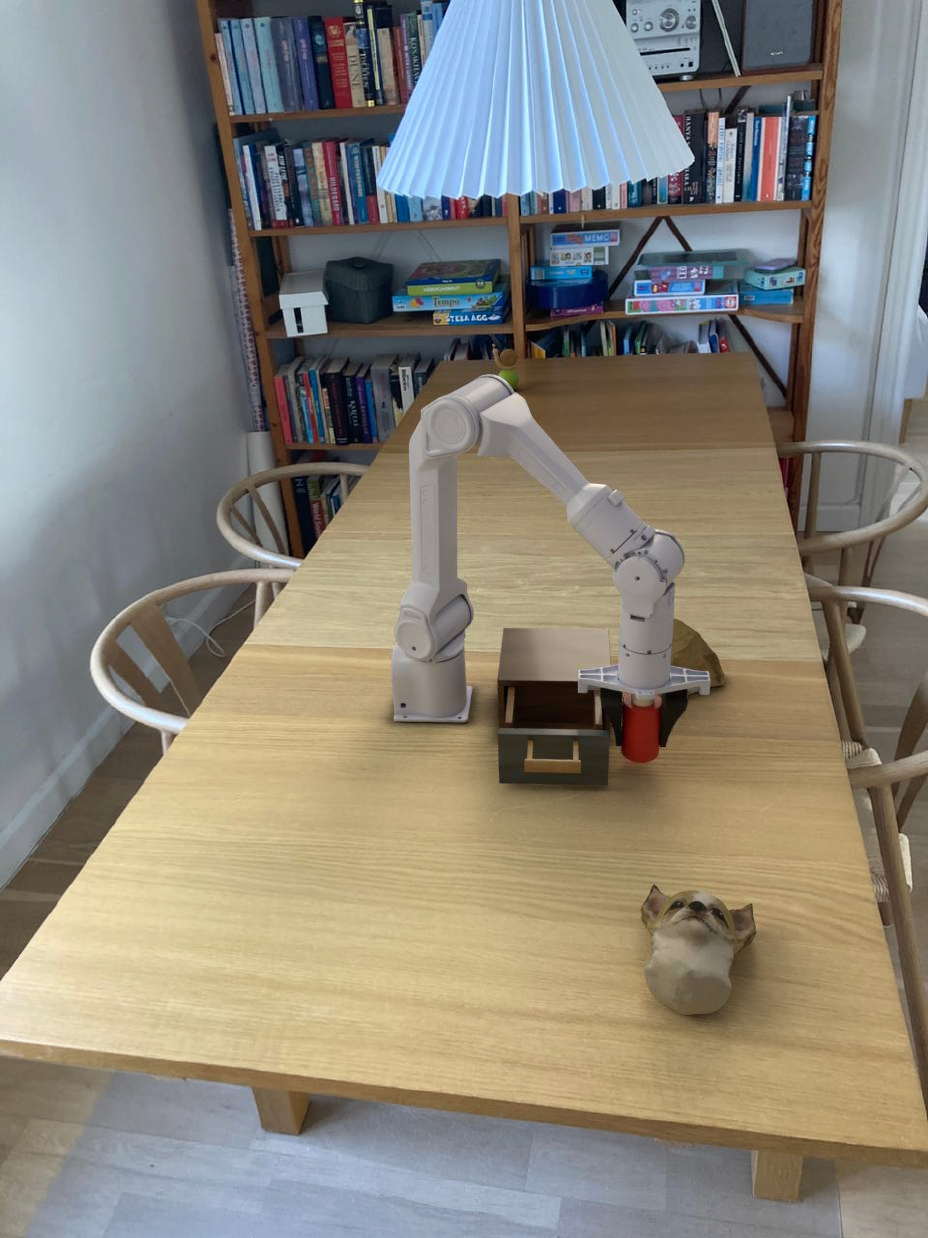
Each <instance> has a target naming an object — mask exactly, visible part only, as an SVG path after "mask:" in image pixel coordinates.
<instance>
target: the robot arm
mask: <svg viewBox="0 0 928 1238" xmlns="http://www.w3.org/2000/svg"><path fill="white" fill-rule="evenodd" d="M532 415H533V414H532V413H531V411H530V408H529V405H528V403H527V401H526V399H525V398H524V397H523V396H521V394H519V393H518V392H515V391H514V389H512V387H511V386H510V385H509V384H508V383H507V382H506V381H505V380H504V379H502V378H501V377H499V376H498V375H495V374H490V373H489V374H488V373H487V374H483V375H480V376H478V377H476V378H475V379H473V380H472V381H470V382H469V383H467V384H465V385H463V386H462V387H459V388H458V389H456V390H454V391H452V392H450V393H448V394H444V395H442V396H440V397H438V398H436V399H435V400H433V401H432V402H429V403H428V404H427V405H425V406H424V407H423V408H421V409H420V420H419V422H418V424H416V425H417V426H416V428H415V429H414V431H413V433H412V434H411V436H410V438H409V443H408V461H409V463H408V464H409V468H408V469H409V493H410V494H409V497H410V499H409V500H410V501H409V502H410V504H409V505H410V535H411V536H410V537H411V539H410V540H411V572H412V573H411V574H412V580H411V582H410V584H409V585H408V587H407V590H406V591H405V593H404V595H403V596H402V598H401V601H400V603H399V615H398V618H397V620H396V622H395V624H394V627H393V628H394V629H393V634H394V639H395V641H396V643H397V644H394V646H393V648H392V652H391V660H390V678H391V690H392V701H393V711H394V715H393V720H394V722H407V723H409V722H410V723H411V722H415V723H416V722H417V723H467V722H468V721H469V716H470V709H471V703H472V696H473V686H472V685H467V672H466V669H467V668H466V651H465V649H466V648H465V639H466V629H468V627H470V626H471V624H472V623H473V620H474V616H475V615H474V614H475V612H474V607H473V604H472V602H471V599H470V597H469V592H468V582H467V581H466V580H464V579H463V578H461V577H459V576H458V458H459V456H460V455H462V454H466V453H467V452H469V451H470V450H472V449H473V448H474V447H475V446H476V445H477V446H479V447H478V450H477V453H476V456H477V457H480V458H510V459H512V460H513V461H515V462H516V463H517V464H518V465H519V466H520V467H522V468H523V469H524V470H525V471H526V472H527V473H528V474H529V475H530V476H532V477H533V478H534V479H535V480H536V481H538V482H539V484H541V485H542V486H543V487H544V488H545V489H546V490H548V491H549V492H550V493H551V494H552V495H553V496H554V497H555V498H556V499H557V500H558V501H560V502H561V503H562V504H563V505H564V506H565V507H566V517H567V524H568V525H569V526H570V527H571V528H572V529H573V530H574V531H575V532H576V533H577V534H578V536H580V537H581V538H582V539H583V540H584V541H585V542H586V543H587V544H588V545H589V546H590V547H591V548H592V549H593V550H594V551H595V552H596V553H597V555H599V556H600V557H601V558H602V560H604V561H605V562H606V563H607V564H608V566H609V567H611V568H612V569H613V570H614V571H612V572H611V577H612V581H613V584H614V587H615V588H616V590H617V591H618V592H619V594H620V598H621V599H620V611H619V634H618V635H619V636H618V659H617V660H618V661H617V662H618V663H617V664H611V666H606V667H601V668H595V669H586V670H578V693H587V692H588V690H600V700H601V705H602V708H603V710H604V711H605V713H606V715H607V716H608V718H609V720H610V723H611V728H612V731H613V734H614V739H615V746H616V747H620V748H621V747H622V713H623V693H625V694H627V693H630V694H635V695H636V698H637V699H640V700H652V699H654V698H655V695H656V694H662V716H661V731H660V746H659V748H667V743H668V740H669V738H670V735H671V732H672V731H673V728H674V726H675V725H676V723H677V722H678V720H679V719H680V717H681V716H682V715H683V714H684V713H686V710H687V708H688V705H689V698H688V695H687V692H688V691H692V692H694V693H697V692H698V694H699V695H700V696H709V695H710V693H711V687H710V683H711V680H710V675H709V672H708V671H696V670H690V669H685V668H680V667H675V666H670V664H671V649H672V636H673V621H674V619H675V596H676V583H675V582H674V581H675V580H676V579H677V577H678V576H680V574H681V572H682V570H683V568H684V566H685V561H686V556H685V551H684V548H683V546H682V545H681V543H680V542H679V541H678V540H677V538H676V536H675V535H674V534H673V533H671V532H669V531H667V530H662V529H658V528H655V527H653V526H651V525H650V524H647V523H645V521H644V520H642V518H641V517H640V516H639V515H638V514H637V513H636V512H634V510H632V508H630V506H629V505H628V504H627V503H626V502H625V501H624V500H625V498H626V497H625V496H624V495H623V494H622V493H621V491H619V489H615V490H614V491H613V490H612V488H610V486H609V485H608V484H603V483H591V482H589V481H588V480H587V478H586V477H585V476H584V475H583V474H582V473H581V472H580V471H579V469H578V468H577V467H576V465H574V464H573V463H572V461H571V460H570V459H569V458H568V457H567V455H565V453H564V452H563V451H562V450H561V448H559V446H558V445H557V444H556V443H555V442H554V440H553V439H552V438H551V437H550V436H549V435H548V434H547V433H546V432H545V430H544V429H543V428H542V427H541V426H540V424H538V422H536V420H535V419H534V417H533V416H532Z"/></svg>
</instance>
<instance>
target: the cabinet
mask: <svg viewBox="0 0 928 1238" xmlns="http://www.w3.org/2000/svg"><path fill="white" fill-rule="evenodd" d="M610 641H611V640H610V629H609V628H576V627H575V628H572V627H571V628H566V627H565V628H562V627H561V628H559V627H536V628H535V627H503V628H502V635H501V643H500V644H501V645H500V653H499V661H498V662H499V663H498V671H497V679H496V683H497V684H496V685H497V686H496V687H497V715H498V728H505V718H506V707H507V697H508V686H568V687H578V670H586V669H595V668H601V667H606V666H612V658H611V642H610ZM602 723H603V728H602V730H609V733H610V734H611V731H612V730H611V728H612V725H611V723H610V720H609V718H608V716H607V715H606V713H605V711H604V710H603V708H602ZM610 742H611V740H610V741H609V743H610Z"/></svg>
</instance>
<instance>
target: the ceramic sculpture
mask: <svg viewBox="0 0 928 1238" xmlns="http://www.w3.org/2000/svg"><path fill="white" fill-rule="evenodd" d="M753 907H754V905H753V903H748V904H746V905H745V906H743V907H741V908H736V909H733V908H732V909H728V907H727V905H726V904H725V903H724V902H723V901H722V900H720V898H718V897H717V896H715V895H713V894H711V893H708V892H705V891H701V890H682V891H680V892H677V893H675V894H673V895H672V896H671V897H670V896H668V895H666V894H664V893H663V892H662V891H661V889H659V887H658V886H657V885H656V884H655V883H653V884H652V886H651V888H650V891H649V894H648V896H647V897H646V899H645V900H644V902H643V904H642V905H641V907H640V914H641V916H640V917H641V921H642V923H643V925H644V926H645V928H646V929H647V931H648V932H649V934H650V935H651V936H652V938H651V942H650V944H651V957H650V960H649V961H647V963H646V965H645V967H644V968H643V975H644V979H645V980H644V981H645V983H646V987H647V989H648V991H649V992H650V994H651V996H653V997H654V999H655V1000H656V1001H657V1002H658V1003H660V1004H662V1005H663V1006H666V1007H668V1008H669V1009H670V1008H671V1009H672V1010H673V1011H674V1012H676V1013H678V1014H680V1015H684V1016H688V1015H689V1016H691V1015H692V1016H693V1015H707V1014H712V1013H714V1012H716V1011H718V1010H720V1009H721V1008H722V1007H723V1006H724V1005H725V1004H726V1003H727V1001H728V999H729V998H730V996H731V994H732V990H733V985H732V983H731V979H730V978H729V976H730V971H731V966H732V964H733V962H734V960H735V955H736V954H738V953H740V952H741V951H743V950H744V949H745V948H747V947H748V946H749V945H751V944H752V942H753V940H754V938H755V936H756V934H757V927H756V922H755V918H754V908H753Z"/></svg>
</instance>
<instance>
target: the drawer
mask: <svg viewBox="0 0 928 1238" xmlns="http://www.w3.org/2000/svg"><path fill="white" fill-rule="evenodd" d="M602 728H603V723H602V705H601V700H600V690H588V692H587V693H578V687H568V686H508V697H507V707H506V718H505V728H499V727H497V764H498V784H503V785H504V784H505V785H507V784H508V785H541V786H542V785H543V786H546V785H547V786H549V785H550V786H554V785H555V786H585V787H586V786H587V787H588V786H589V787H591V786H592V787H608V786H609V770H610V769H609V767H610V766H609V765H610V742H611V733H609V730H602ZM609 741H610V742H609Z"/></svg>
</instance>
